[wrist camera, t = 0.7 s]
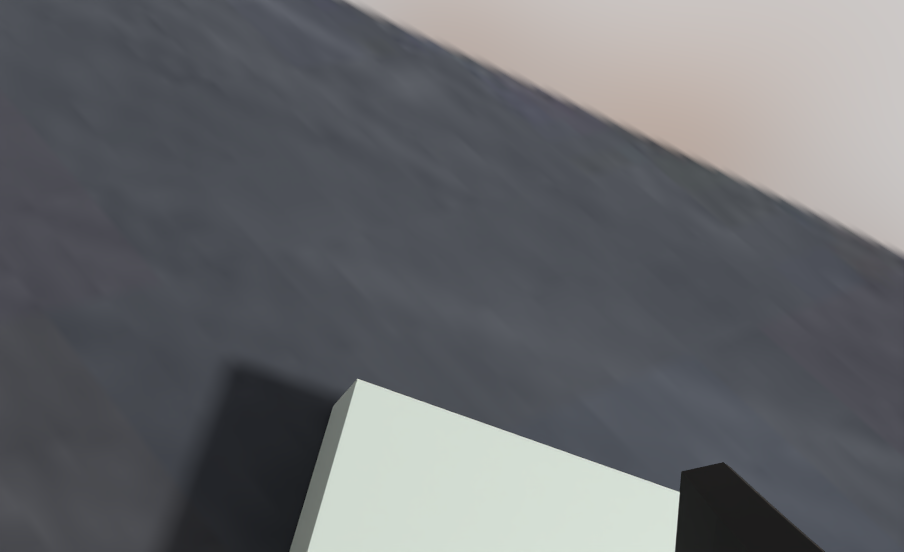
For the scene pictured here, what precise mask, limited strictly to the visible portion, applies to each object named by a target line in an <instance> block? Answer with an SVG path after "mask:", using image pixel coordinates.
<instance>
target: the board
mask: <svg viewBox="0 0 904 552" xmlns="http://www.w3.org/2000/svg"><path fill="white" fill-rule="evenodd" d="M679 496H680V492H677V491H675V490H672V489H669V488H666V487H663V486H660V485H657V484H655V483H652V482H649V481H646V480H643V479H640V478H638V477H635V476H632V475H629V474H626V473H623V472H621V471H618V470H615V469H612V468H609V467H606V466H604V465H601V464H598V463H595V462H592V461H589V460H586V459H584V458H581V457H578V456H575V455H572V454H569V453H567V452H564V451H561V450H558V449H555V448H552V447H550V446H547V445H544V444H541V443H538V442H535V441H533V440H530V439H527V438H524V437H521V436H518V435H515V434H513V433H510V432H507V431H504V430H501V429H498V428H496V427H493V426H490V425H487V424H484V423H481V422H479V421H476V420H473V419H470V418H467V417H464V416H461V415H459V414H456V413H453V412H450V411H447V410H444V409H442V408H439V407H436V406H433V405H430V404H427V403H425V402H422V401H419V400H416V399H413V398H410V397H408V396H405V395H402V394H399V393H396V392H393V391H390V390H388V389H385V388H382V387H379V386H376V385H373V384H371V383H368V382H365V381H362V380H359V379H357V380H356V381H355V382H354V383H353V384H352V386H351V387H350V388H349V389H348V390H347V391H346V392H345V393H344V394H343V396H342V397H341V398H340V399H339V400H338V401H337V402H336V403H335V405H334V406H333V408H332V411H331V415H330V418H329V421H328V425H327V428H326V431H325V435H324V438H323V441H322V445H321V448H320V451H319V455H318V458H317V461H316V465H315V468H314V471H313V475H312V478H311V481H310V485H309V488H308V491H307V495H306V498H305V501H304V505H303V508H302V511H301V515H300V518H299V521H298V525H297V528H296V531H295V535H294V538H293V541H292V545H291V548H290V551H289V552H675V545H676V532H677V520H678V508H679Z"/></svg>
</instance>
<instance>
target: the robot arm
mask: <svg viewBox="0 0 904 552" xmlns="http://www.w3.org/2000/svg"><path fill="white" fill-rule="evenodd" d="M675 552H825V551H824V550H823V549H821V548H820V547H819V546H818V545H817V544H816V543H814V542H813V541H812V540H811V539H810V538H809V537H807V536H806V535H805V534H804V533H803V532H802V531H801V530H800V529H798V528H797V527H796V526H795V525H794V524H793V523H792V522H790V521H789V520H788V519H787V518H786V517H785V516H784V515H782V514H781V513H780V512H779V511H778V510H777V509H776V508H775V507H774V506H772V505H771V504H770V503H769V502H768V501H767V500H766V499H765V498H764V497H762V496H761V495H760V494H759V493H758V492H757V491H756V490H755V489H754V488H753V487H751V486H750V485H749V484H748V483H747V482H746V481H745V480H744V479H743V478H742V477H740V476H739V475H738V474H737V473H736V472H735V471H734V470H733V469H732V468H731V467H729V466H728V465H726V464H725V463H724V462H723V463H718V464H714V465H709V466H705V467H700V468H696V469H691V470H687V471H682V472H681V484H680V496H679V508H678V520H677V532H676V545H675Z"/></svg>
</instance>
